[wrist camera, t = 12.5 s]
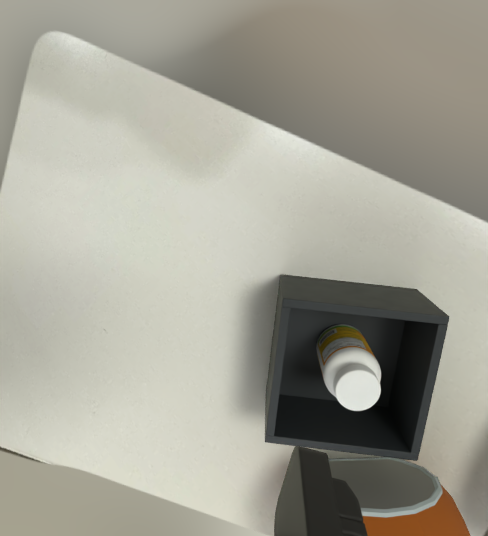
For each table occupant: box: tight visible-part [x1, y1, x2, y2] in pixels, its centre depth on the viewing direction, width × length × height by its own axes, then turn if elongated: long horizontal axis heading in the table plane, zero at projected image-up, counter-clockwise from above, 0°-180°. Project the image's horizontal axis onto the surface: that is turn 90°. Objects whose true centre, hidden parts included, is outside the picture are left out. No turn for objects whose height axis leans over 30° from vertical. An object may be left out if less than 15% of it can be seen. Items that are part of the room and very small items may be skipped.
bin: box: [265, 275, 449, 461], centre depth 44 cm, size 15×15×9 cm
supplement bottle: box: [316, 324, 381, 411], centre depth 43 cm, size 5×5×10 cm
